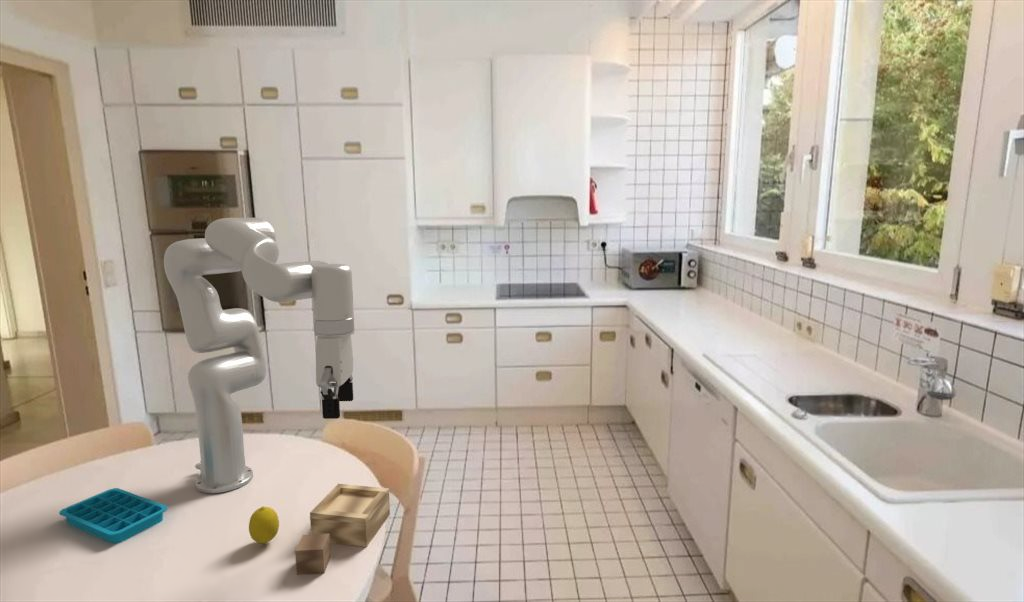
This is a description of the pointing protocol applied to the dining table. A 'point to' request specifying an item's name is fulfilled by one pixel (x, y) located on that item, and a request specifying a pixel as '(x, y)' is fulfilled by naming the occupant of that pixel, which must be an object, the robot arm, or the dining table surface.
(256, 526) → the lemon
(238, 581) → the dining table surface
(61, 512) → the ice cube tray
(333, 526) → the oak tray
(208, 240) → the robot arm
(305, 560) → the walnut cube
